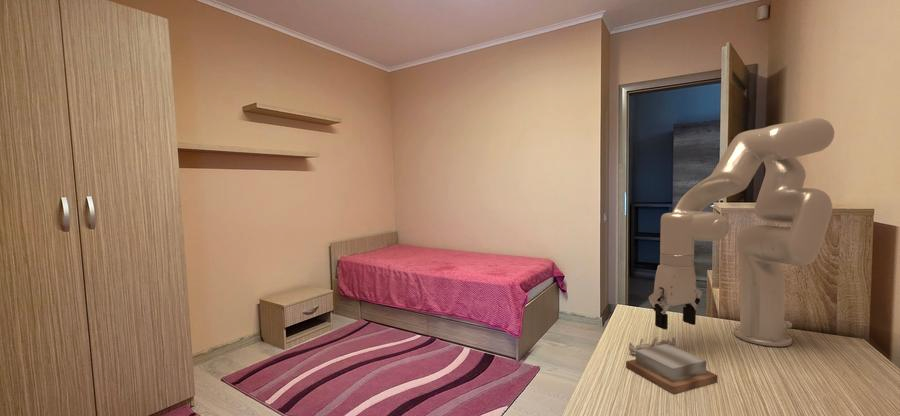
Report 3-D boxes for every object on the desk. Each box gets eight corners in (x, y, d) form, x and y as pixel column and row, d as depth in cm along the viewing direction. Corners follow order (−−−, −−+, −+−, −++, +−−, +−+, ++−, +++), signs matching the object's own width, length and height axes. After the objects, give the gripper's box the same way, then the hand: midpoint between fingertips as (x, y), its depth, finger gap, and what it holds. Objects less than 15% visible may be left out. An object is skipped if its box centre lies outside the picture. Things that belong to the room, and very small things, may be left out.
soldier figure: (681, 336, 97) (635, 331, 97) (685, 356, 95) (638, 352, 95) (664, 339, 104) (621, 335, 104) (667, 358, 102) (623, 354, 102)
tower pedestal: (666, 357, 96) (666, 340, 96) (717, 381, 84) (717, 362, 84) (626, 367, 92) (625, 349, 92) (673, 394, 80) (673, 373, 79)
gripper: (687, 256, 105) (686, 317, 105) (639, 260, 99) (638, 324, 100) (714, 260, 97) (713, 326, 98) (663, 265, 92) (662, 335, 93)
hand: (675, 325), depth 99 cm, fingers open, 9 cm apart
